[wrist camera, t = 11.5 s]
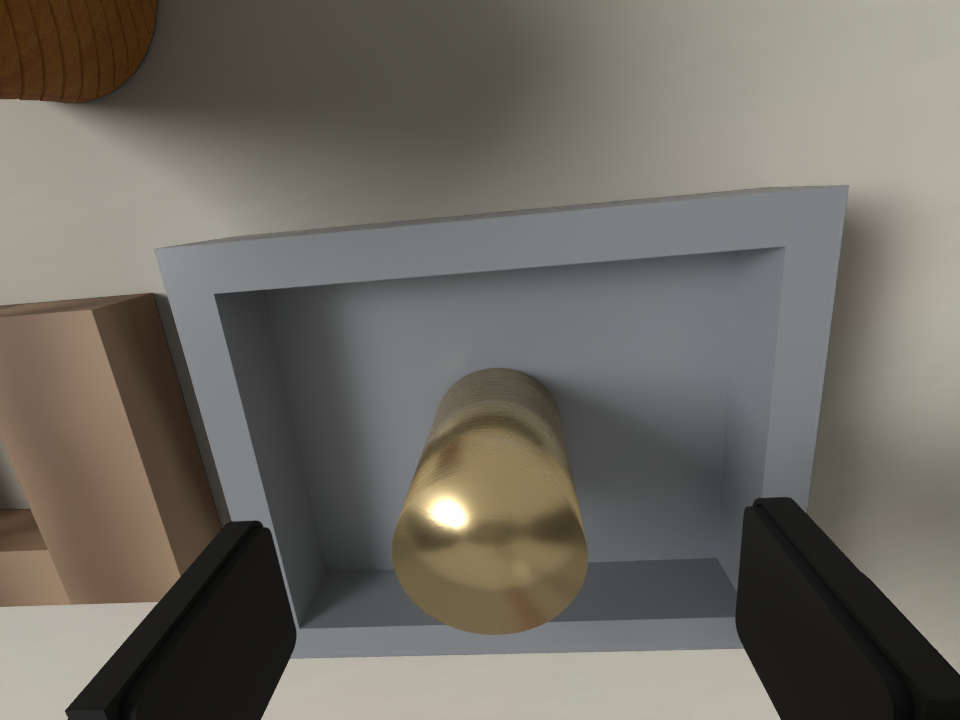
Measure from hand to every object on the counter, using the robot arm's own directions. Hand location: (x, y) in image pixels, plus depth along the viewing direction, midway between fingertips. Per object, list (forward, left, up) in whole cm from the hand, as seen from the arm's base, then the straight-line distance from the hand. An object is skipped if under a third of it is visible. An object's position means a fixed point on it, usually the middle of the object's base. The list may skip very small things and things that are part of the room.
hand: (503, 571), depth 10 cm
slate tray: (0, 0, -7) cm, 7 cm away
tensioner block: (+18, 0, -7) cm, 19 cm away
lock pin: (0, 0, -6) cm, 6 cm away
